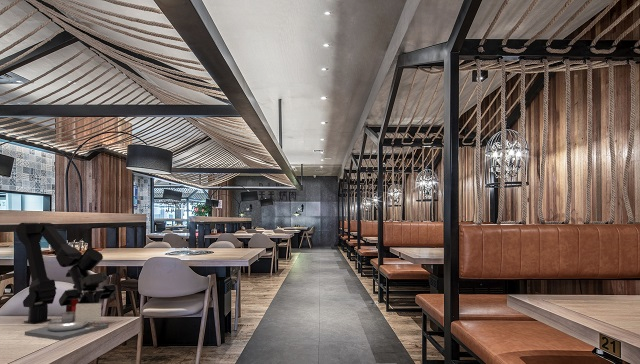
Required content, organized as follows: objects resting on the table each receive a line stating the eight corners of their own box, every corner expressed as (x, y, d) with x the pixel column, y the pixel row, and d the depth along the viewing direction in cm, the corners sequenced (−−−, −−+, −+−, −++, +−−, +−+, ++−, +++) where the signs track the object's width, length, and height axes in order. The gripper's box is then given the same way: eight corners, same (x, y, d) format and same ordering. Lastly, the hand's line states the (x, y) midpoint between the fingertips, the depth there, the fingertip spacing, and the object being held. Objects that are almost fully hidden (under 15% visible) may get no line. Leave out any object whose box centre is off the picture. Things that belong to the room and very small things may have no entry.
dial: (40, 331, 141) (41, 307, 141) (58, 323, 152) (59, 301, 153) (92, 329, 142) (93, 306, 143) (106, 321, 154) (107, 300, 155)
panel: (24, 335, 142) (24, 330, 142) (74, 323, 159) (75, 319, 159) (61, 340, 135) (61, 335, 136) (109, 327, 152) (109, 323, 152)
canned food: (92, 314, 174) (93, 287, 176) (79, 318, 167) (80, 290, 168) (74, 314, 175) (76, 287, 176) (61, 318, 167) (62, 290, 168)
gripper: (66, 267, 146) (81, 303, 140) (115, 262, 162) (131, 295, 156) (51, 287, 149) (66, 324, 143) (101, 281, 165) (117, 314, 159)
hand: (97, 313), depth 150 cm, fingers closed
